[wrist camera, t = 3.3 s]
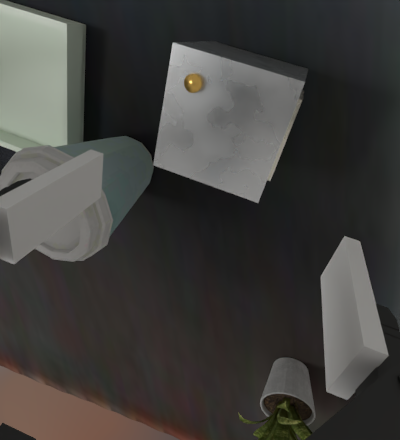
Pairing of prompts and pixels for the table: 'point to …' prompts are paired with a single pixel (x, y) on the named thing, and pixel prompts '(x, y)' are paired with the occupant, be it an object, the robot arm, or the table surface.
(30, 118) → the tray
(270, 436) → the house plant
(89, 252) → the disposable coffee cup
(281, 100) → the unit
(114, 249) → the table surface
